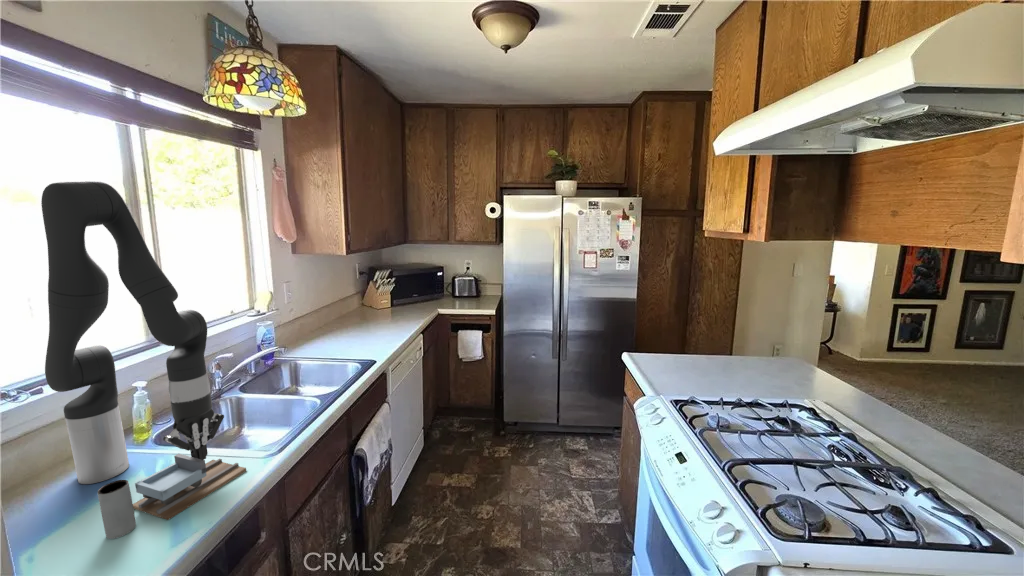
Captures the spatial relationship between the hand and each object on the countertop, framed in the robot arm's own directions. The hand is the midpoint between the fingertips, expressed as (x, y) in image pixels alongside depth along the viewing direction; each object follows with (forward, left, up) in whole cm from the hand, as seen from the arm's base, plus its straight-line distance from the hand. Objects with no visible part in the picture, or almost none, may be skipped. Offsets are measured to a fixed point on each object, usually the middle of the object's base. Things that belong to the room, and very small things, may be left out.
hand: (200, 459), depth 97 cm
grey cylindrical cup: (0, -17, -6) cm, 18 cm away
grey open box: (0, -6, -4) cm, 8 cm away
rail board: (0, -3, -6) cm, 7 cm away
